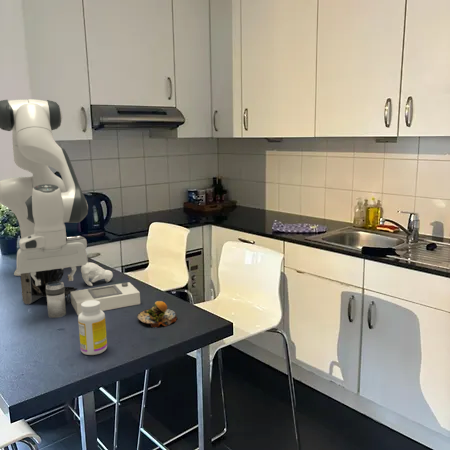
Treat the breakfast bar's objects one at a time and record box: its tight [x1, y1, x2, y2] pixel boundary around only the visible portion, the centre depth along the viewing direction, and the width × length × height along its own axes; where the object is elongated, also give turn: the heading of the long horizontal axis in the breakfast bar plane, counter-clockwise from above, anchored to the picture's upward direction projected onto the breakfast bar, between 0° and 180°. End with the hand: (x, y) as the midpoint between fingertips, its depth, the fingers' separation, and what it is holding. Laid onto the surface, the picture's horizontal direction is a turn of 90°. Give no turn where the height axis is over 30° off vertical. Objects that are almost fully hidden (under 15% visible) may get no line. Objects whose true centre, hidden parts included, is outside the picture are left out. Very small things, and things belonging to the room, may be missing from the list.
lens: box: [45, 280, 67, 319], centre depth 140 cm, size 6×6×10 cm
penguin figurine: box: [80, 261, 114, 287], centre depth 171 cm, size 6×8×12 cm
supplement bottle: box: [77, 300, 108, 356], centre depth 116 cm, size 7×7×13 cm
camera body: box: [69, 282, 141, 316], centre depth 150 cm, size 12×20×5 cm, turn 118°
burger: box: [136, 296, 177, 329], centre depth 136 cm, size 12×12×8 cm
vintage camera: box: [20, 268, 78, 305], centre depth 151 cm, size 10×16×20 cm, turn 79°
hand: (54, 282), depth 139 cm, fingers open, 8 cm apart
